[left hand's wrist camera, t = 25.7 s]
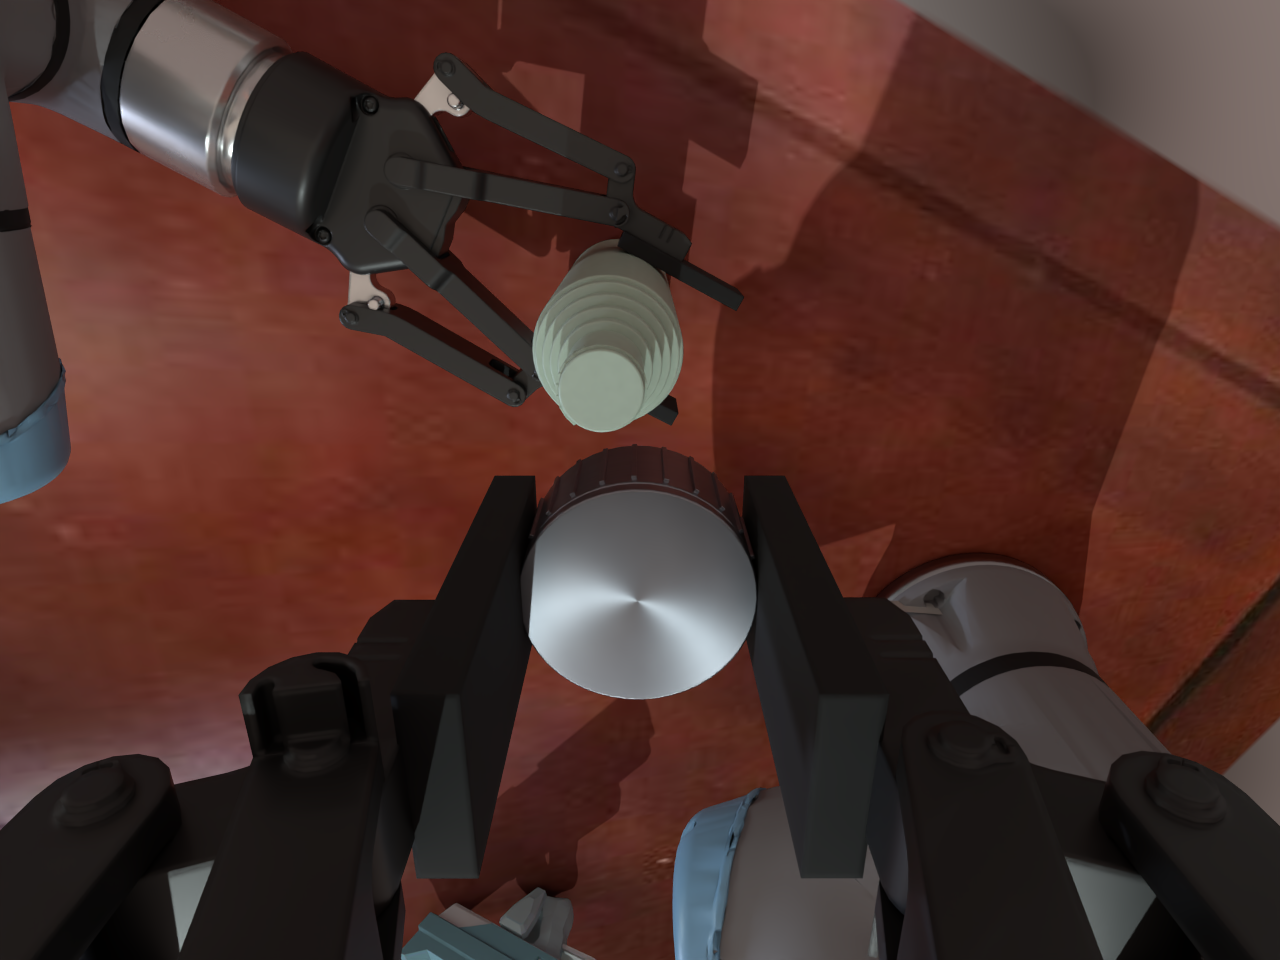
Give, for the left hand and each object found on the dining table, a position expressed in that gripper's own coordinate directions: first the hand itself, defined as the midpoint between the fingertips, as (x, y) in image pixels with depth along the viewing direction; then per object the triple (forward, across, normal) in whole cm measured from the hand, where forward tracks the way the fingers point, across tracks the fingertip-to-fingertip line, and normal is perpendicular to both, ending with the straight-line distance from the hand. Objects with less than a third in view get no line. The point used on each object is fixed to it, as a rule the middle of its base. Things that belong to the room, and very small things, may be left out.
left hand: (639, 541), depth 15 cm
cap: (-2, 0, 0) cm, 2 cm away
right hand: (+26, -3, +2) cm, 26 cm away
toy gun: (+32, +10, +48) cm, 59 cm away
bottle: (+32, +1, 0) cm, 32 cm away
